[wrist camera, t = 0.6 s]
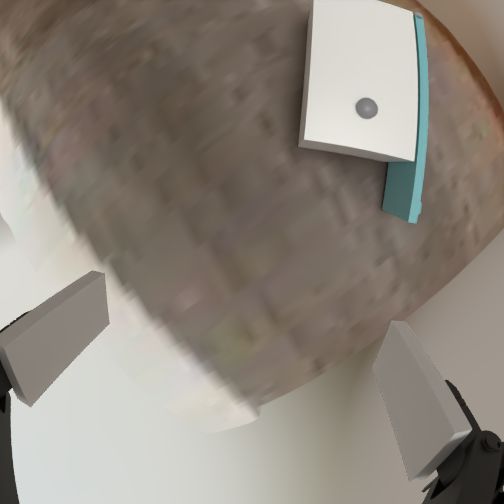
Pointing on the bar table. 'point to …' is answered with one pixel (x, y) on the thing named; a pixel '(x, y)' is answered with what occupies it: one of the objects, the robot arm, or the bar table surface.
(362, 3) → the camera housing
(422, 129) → the side door
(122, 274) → the bar table surface
